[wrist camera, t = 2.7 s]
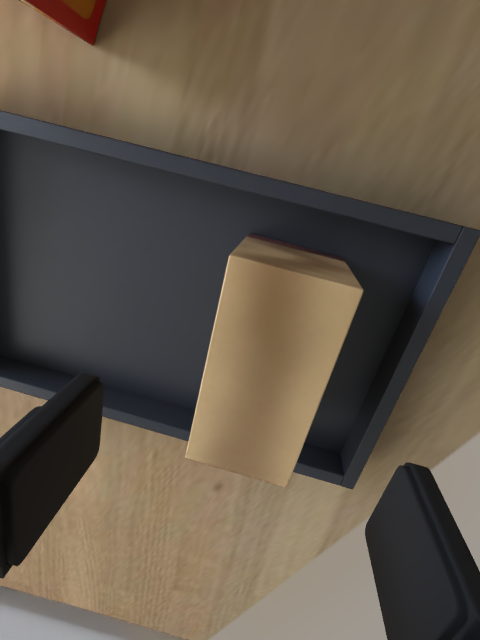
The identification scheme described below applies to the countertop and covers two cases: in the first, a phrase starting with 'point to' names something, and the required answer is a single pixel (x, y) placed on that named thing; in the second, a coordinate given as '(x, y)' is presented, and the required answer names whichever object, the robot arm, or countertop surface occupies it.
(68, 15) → the baking soda box
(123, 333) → the tray
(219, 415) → the wooden block
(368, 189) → the countertop surface
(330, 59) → the countertop surface
